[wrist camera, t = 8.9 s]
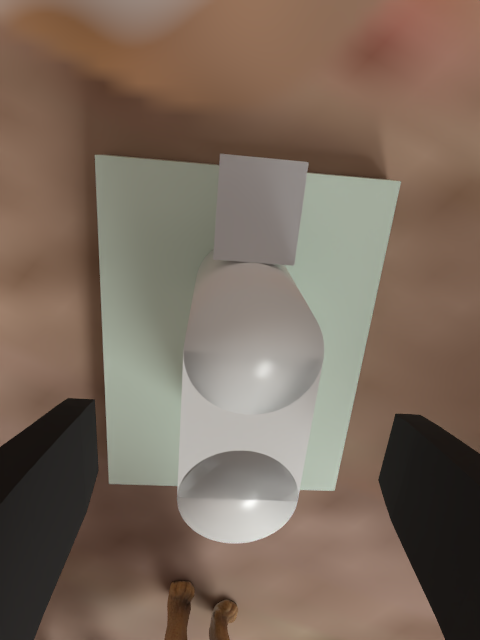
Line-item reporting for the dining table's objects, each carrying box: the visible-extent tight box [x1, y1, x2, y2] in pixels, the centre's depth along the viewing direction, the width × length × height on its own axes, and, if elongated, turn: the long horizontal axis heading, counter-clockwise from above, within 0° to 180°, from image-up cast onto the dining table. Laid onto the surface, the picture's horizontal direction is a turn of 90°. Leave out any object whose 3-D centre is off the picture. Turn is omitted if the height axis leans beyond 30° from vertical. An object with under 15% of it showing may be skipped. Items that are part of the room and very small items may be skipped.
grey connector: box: [177, 154, 324, 543], centre depth 11 cm, size 3×9×5 cm, turn 175°
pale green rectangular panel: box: [95, 154, 401, 491], centre depth 15 cm, size 9×12×1 cm
